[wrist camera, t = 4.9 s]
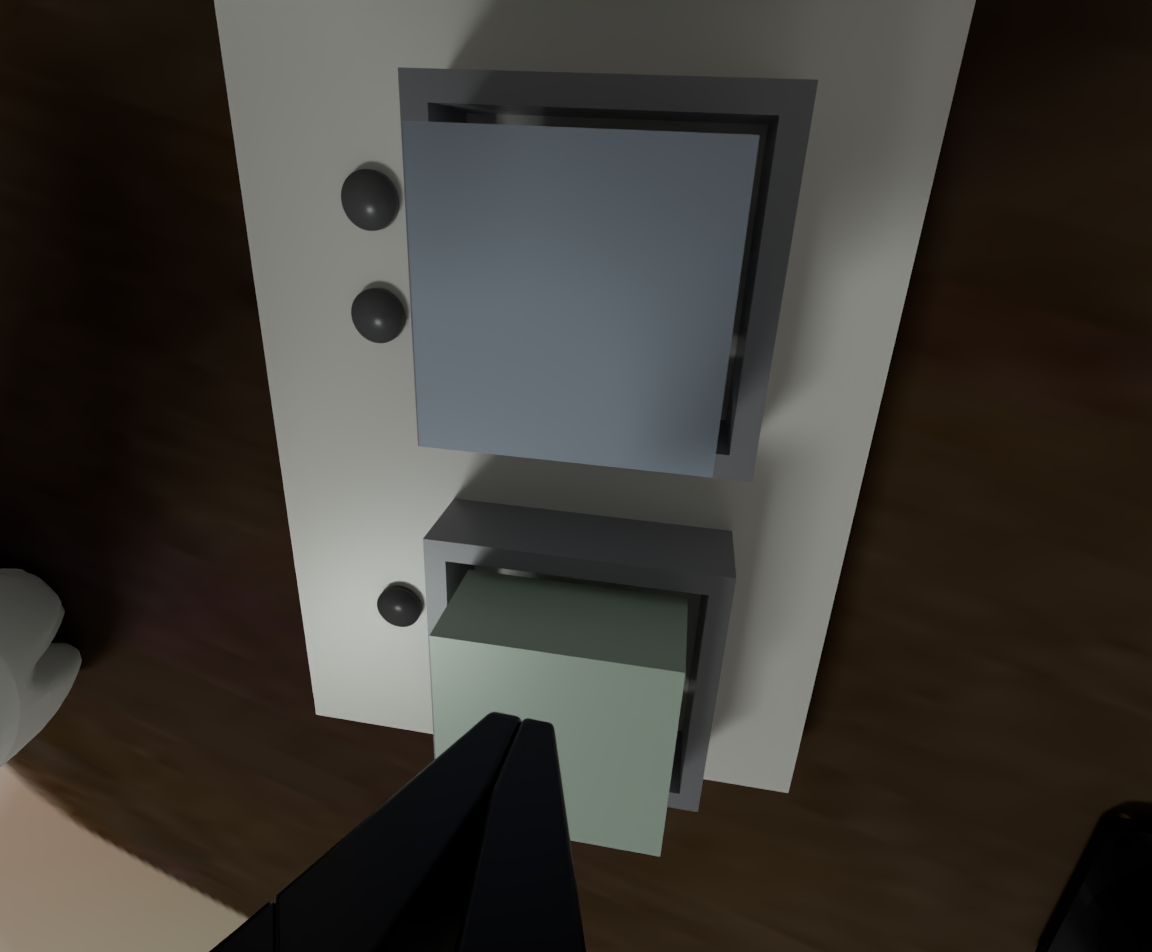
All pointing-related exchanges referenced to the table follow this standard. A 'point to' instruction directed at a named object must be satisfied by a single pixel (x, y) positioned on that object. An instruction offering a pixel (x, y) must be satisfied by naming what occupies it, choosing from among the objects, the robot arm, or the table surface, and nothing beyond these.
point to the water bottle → (30, 659)
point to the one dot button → (572, 690)
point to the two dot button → (575, 289)
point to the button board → (563, 489)
